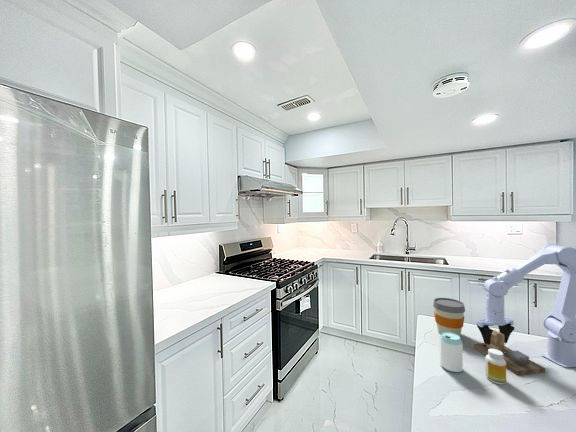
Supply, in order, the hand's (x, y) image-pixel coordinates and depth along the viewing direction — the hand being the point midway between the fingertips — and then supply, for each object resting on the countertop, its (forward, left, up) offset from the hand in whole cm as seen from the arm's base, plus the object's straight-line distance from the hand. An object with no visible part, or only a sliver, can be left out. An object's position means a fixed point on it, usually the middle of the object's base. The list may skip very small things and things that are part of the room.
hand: (495, 342), depth 100 cm
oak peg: (0, 0, -4) cm, 4 cm away
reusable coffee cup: (+7, -16, -4) cm, 18 cm away
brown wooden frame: (0, +4, -4) cm, 6 cm away
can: (+25, +6, -4) cm, 26 cm away
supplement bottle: (+15, +14, -4) cm, 21 cm away
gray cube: (0, +9, -4) cm, 10 cm away
